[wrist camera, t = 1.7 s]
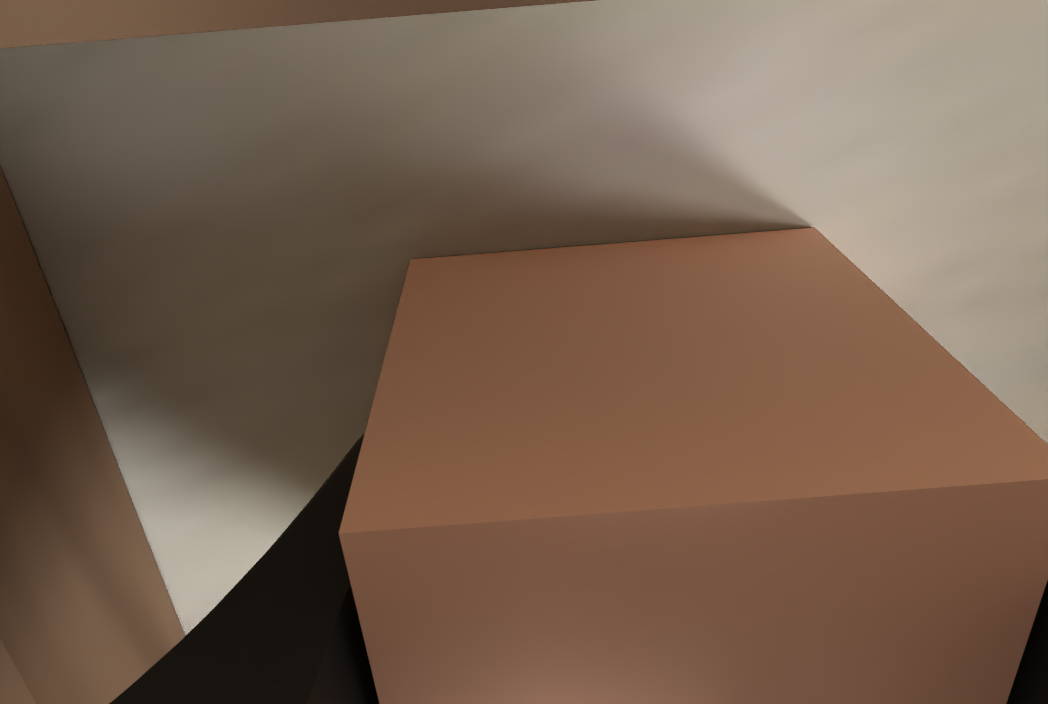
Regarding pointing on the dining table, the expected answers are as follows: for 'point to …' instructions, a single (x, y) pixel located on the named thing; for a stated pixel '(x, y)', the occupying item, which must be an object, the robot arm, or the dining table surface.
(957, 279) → the dining table surface
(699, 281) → the terracotta block
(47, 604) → the walnut bay
